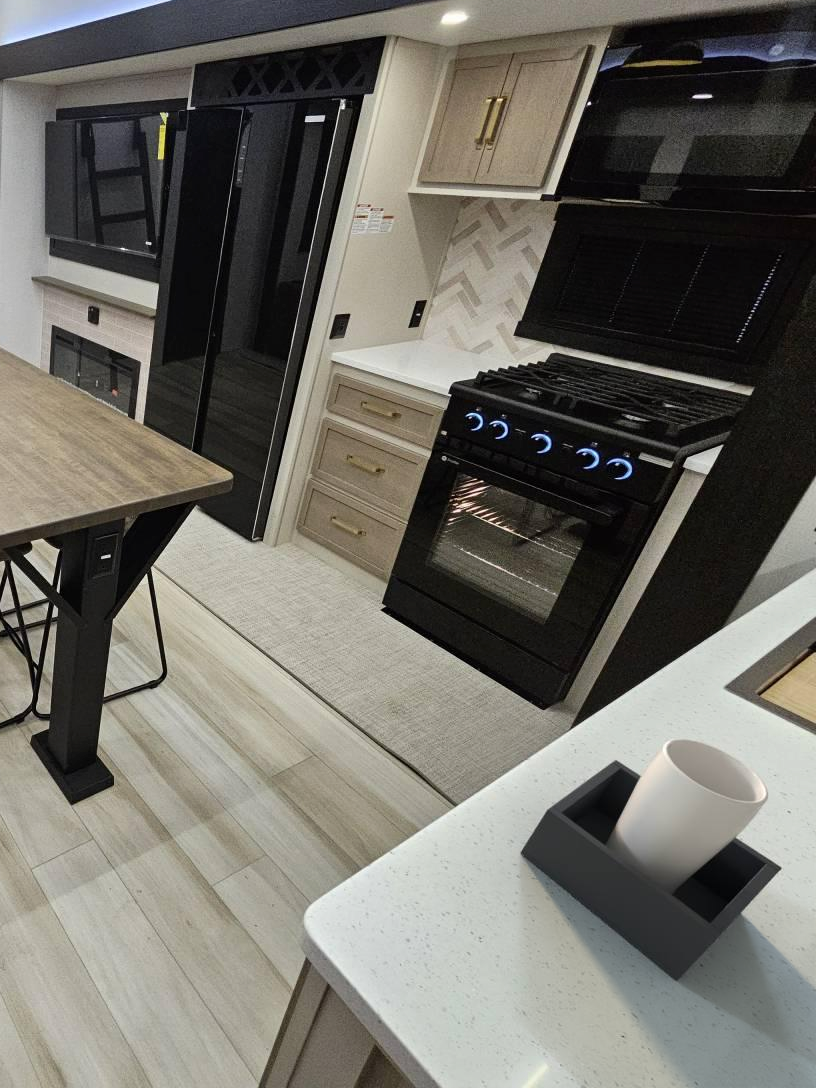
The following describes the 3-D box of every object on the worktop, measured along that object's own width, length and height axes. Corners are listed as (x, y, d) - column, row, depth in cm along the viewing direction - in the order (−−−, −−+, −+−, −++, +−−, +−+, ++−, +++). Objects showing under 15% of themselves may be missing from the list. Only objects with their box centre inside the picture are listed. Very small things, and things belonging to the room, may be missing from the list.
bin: (587, 802, 72) (615, 759, 69) (740, 911, 62) (782, 867, 59) (519, 853, 66) (547, 809, 63) (676, 981, 57) (718, 937, 54)
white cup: (593, 830, 68) (667, 724, 61) (681, 879, 64) (771, 771, 57) (580, 876, 64) (657, 767, 57) (673, 931, 60) (770, 821, 53)
